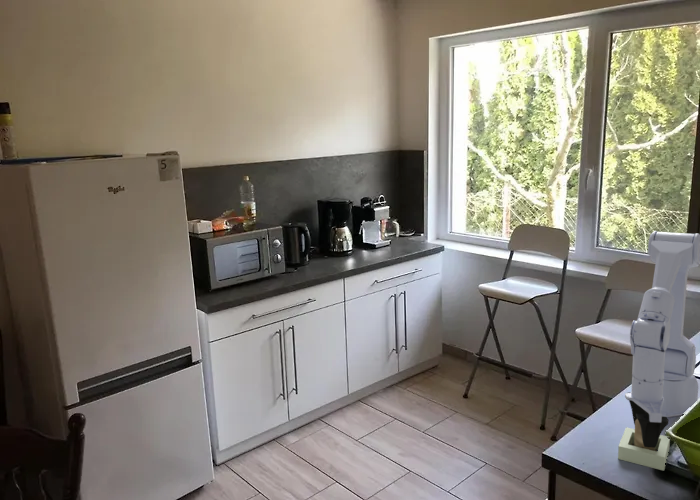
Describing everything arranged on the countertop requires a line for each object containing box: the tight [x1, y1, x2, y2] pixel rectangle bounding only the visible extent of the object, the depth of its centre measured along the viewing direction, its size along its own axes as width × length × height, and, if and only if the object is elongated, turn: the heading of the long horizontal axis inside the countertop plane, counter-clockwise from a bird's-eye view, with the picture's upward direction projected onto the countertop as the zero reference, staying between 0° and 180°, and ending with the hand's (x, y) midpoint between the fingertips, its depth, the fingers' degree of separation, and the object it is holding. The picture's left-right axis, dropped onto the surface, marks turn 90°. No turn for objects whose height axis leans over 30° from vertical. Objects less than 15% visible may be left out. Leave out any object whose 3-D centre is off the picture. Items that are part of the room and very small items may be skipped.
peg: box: [634, 419, 655, 451], centre depth 119 cm, size 4×4×7 cm
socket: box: [617, 427, 671, 472], centre depth 120 cm, size 8×8×3 cm
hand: (644, 436), depth 119 cm, fingers open, 7 cm apart
